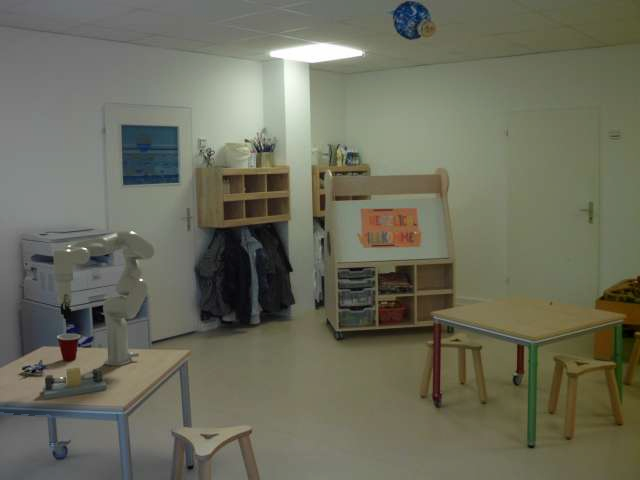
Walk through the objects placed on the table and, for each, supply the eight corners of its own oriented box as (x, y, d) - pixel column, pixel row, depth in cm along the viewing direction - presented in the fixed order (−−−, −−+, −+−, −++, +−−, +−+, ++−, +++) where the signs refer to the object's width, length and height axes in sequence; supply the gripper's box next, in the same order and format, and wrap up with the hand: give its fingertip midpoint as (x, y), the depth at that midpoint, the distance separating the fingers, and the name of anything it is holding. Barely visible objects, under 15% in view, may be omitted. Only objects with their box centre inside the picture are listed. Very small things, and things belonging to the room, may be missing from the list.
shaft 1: (45, 390, 283) (44, 378, 282) (47, 387, 287) (46, 375, 286) (65, 388, 284) (64, 376, 284) (66, 385, 288) (66, 373, 288)
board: (102, 382, 298) (102, 377, 298) (106, 389, 288) (106, 384, 288) (43, 391, 287) (42, 386, 287) (45, 398, 278) (45, 394, 277)
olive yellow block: (68, 388, 285) (67, 371, 284) (67, 385, 288) (66, 369, 288) (81, 386, 287) (80, 369, 286) (79, 383, 291) (78, 367, 290)
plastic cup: (76, 362, 329) (75, 338, 328) (54, 362, 330) (53, 338, 328) (85, 356, 340) (83, 332, 339) (63, 356, 341) (62, 332, 339)
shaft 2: (98, 379, 296) (98, 368, 295) (102, 381, 293) (102, 370, 292) (81, 383, 291) (80, 371, 290) (85, 385, 288) (84, 373, 287)
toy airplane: (17, 380, 303) (17, 372, 302) (17, 372, 315) (16, 364, 315) (49, 376, 308) (48, 368, 308) (47, 368, 321) (47, 361, 320)
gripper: (52, 275, 305) (54, 313, 307) (56, 281, 290) (59, 321, 291) (70, 274, 308) (72, 311, 310) (75, 279, 293) (77, 319, 295)
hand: (66, 316), depth 301 cm, fingers open, 9 cm apart
